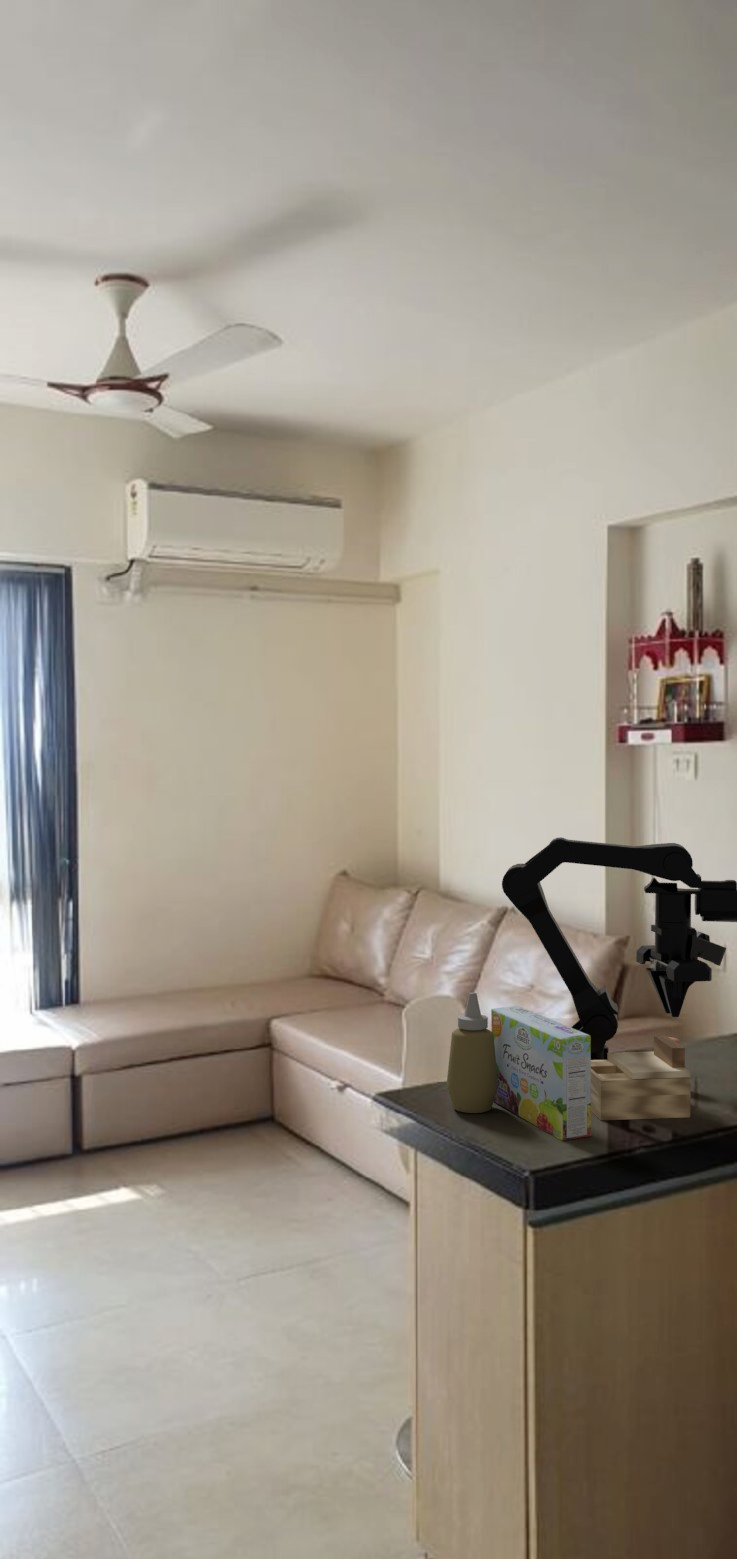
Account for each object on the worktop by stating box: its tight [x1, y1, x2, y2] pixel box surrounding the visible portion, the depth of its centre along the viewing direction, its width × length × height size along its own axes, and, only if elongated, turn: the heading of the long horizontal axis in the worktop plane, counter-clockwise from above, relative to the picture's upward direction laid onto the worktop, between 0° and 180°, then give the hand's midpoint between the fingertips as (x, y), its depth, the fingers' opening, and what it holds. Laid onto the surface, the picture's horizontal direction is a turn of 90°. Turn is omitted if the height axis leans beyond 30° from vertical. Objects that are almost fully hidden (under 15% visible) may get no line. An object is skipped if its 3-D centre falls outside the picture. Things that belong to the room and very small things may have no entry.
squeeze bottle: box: [446, 992, 498, 1114], centre depth 195 cm, size 8×8×18 cm
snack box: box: [490, 1005, 592, 1142], centre depth 190 cm, size 21×6×15 cm, turn 23°
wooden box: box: [591, 1060, 692, 1121], centre depth 196 cm, size 14×12×6 cm
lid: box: [607, 1035, 692, 1079], centre depth 196 cm, size 9×12×4 cm
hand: (672, 1015), depth 207 cm, fingers open, 3 cm apart
